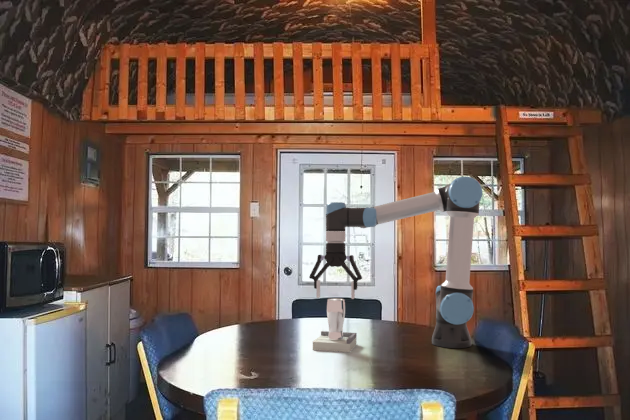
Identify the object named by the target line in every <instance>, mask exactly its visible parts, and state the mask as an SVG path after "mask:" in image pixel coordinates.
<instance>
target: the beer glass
mask: <svg viewBox="0 0 630 420" xmlns="http://www.w3.org/2000/svg"><path fill="white" fill-rule="evenodd" d="M345 301H346V299H344V298H339V297H338V298H333V297H332V298H327V302H326V316H327V317H326V318H327V323H328V331H329V334H328V339H329V340H343V339H344V337H343V332H344V331H343V330H344V322H345V316H346V302H345Z"/></svg>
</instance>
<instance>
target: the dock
mask: <svg viewBox="0 0 630 420" xmlns="http://www.w3.org/2000/svg"><path fill="white" fill-rule="evenodd" d="M328 334H329V330H328V331H327V330H322V331H320V335H319V336H318V337H317V338H316V339H315V340H313V341H312V351H326V352H338V351H339V352H340V353H351V351H352V350H353V349H354V348H355V347H356V346H357V332H345V331H343V337H344V339H343V340H329V339H328ZM339 352H338V353H339Z"/></svg>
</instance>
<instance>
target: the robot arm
mask: <svg viewBox="0 0 630 420" xmlns="http://www.w3.org/2000/svg"><path fill="white" fill-rule="evenodd" d="M482 198H483V187H482V186H481V184H480V182H479V181H478V180H477V179H475V178H473V177H471V176H460V177H456V178H455V179H454V180H452V181H451V183H449V184H447V185H445V186H442V187H439V188H436V189H435V191H433V192H428V193H425V194H421V195H416V196H413V197H408V198H405V199H399V200H397V201H392V202H388V203H383V204H379V205H375V206H371V207H370V206H369V207H368V206H367V207H347V206H346V203H345V202H343V201H342V202H341V201H340V202H338V201H337V202H336V201H335V202H334V201H333V202H332V201H331V202H328V203H327V204H326V208H325V209H326V211H325V241H326V243H325V255H322V254H318V255H317V259H316V262H315V264H314V267H313V268H312V270H311V273H310V274H309V279H311V280H313V288H314V289H316V298H318V299H319V298H320V297H321V279H320V278H321V276H322V275H323V274H324V273H325V272H326V271H327V269H328V268H329V267H331V268H333V267H334V268H335V267H337V268H340V267H342V268H343V269H344V271H345V272H346V273H347V274H348V276H349V277H350V279H352V281H350V283H351V286H350V287H351V288H350V289H351V291H350V292H351V293H350V295H351V300H354V299H355V296H356V294H355V291H357V290H358V281H360V280H363V276H362V274H361V272H360V270H359V268H358V266H357V264H356V262H355V257H354V255H352V254H350V255H346V243H345V242H346V228H360V229H367V228H375V227H376V226H378V225H383V224H386V223H390V222H394V221H395V222H396V221H399V220H402V219H408V218H411V217H416V216H420V215H424V214H429V213H432V212H433V213H434V212H437V211H440V212H442V213H444V212H446V213H447V215H448V216H449V228H448V242H447V254H446V255H447V257H446V268H445V269H446V270H445V280H444V282H442V283H441V284H440V285H437V287H436V290H435V299H436V300H435V302H436V303H435V308H436V309H435V311H436V313H435V314H436V315H435V316H436V317H435V321H436V322H435V323H436V324H435V326H434V330H433V333H432V337H431V344H432V346H433V345H434V346H436V347H440V348H447V349H448V348H449V349H450V348H451V349H465V348H470V347H472V337H471V335H470V331H469V328H468V326H467V325H468V323H467V322H468V321H470V320H471V318H472V317H473V314H474V309H475V307H474V306H475V305H474V302H473V298H474V287H473V286H472V285H471V282H470V281H471V280H470V277H471V266H472V250H473V240H474V239H473V238H474V225H475V218H476V217H477V216H478V215H480V214H479V213H480V203H481V200H482ZM323 260H325V261H326V262H325V264H324V266H323V267H322V268H321V269H320V270H319V267H320V265H321V263H322V262H323ZM346 260H347V261H348V262H350V265H351V267H352V270H353V271H354V273H355V274H354V273H353V271H351V269H350V268H349V267H348V266H347V264H346ZM318 270H319V271H318ZM316 273H317V274H316Z"/></svg>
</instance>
